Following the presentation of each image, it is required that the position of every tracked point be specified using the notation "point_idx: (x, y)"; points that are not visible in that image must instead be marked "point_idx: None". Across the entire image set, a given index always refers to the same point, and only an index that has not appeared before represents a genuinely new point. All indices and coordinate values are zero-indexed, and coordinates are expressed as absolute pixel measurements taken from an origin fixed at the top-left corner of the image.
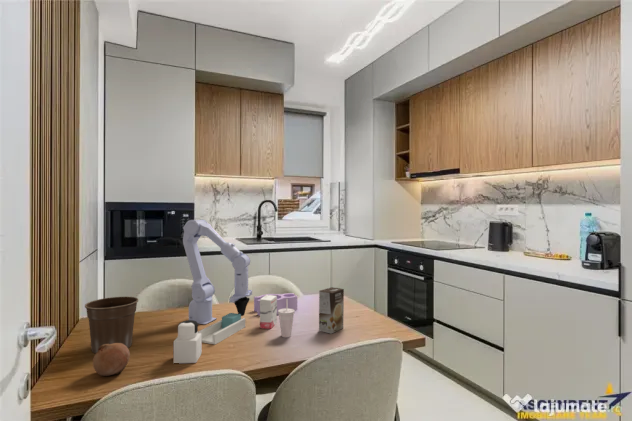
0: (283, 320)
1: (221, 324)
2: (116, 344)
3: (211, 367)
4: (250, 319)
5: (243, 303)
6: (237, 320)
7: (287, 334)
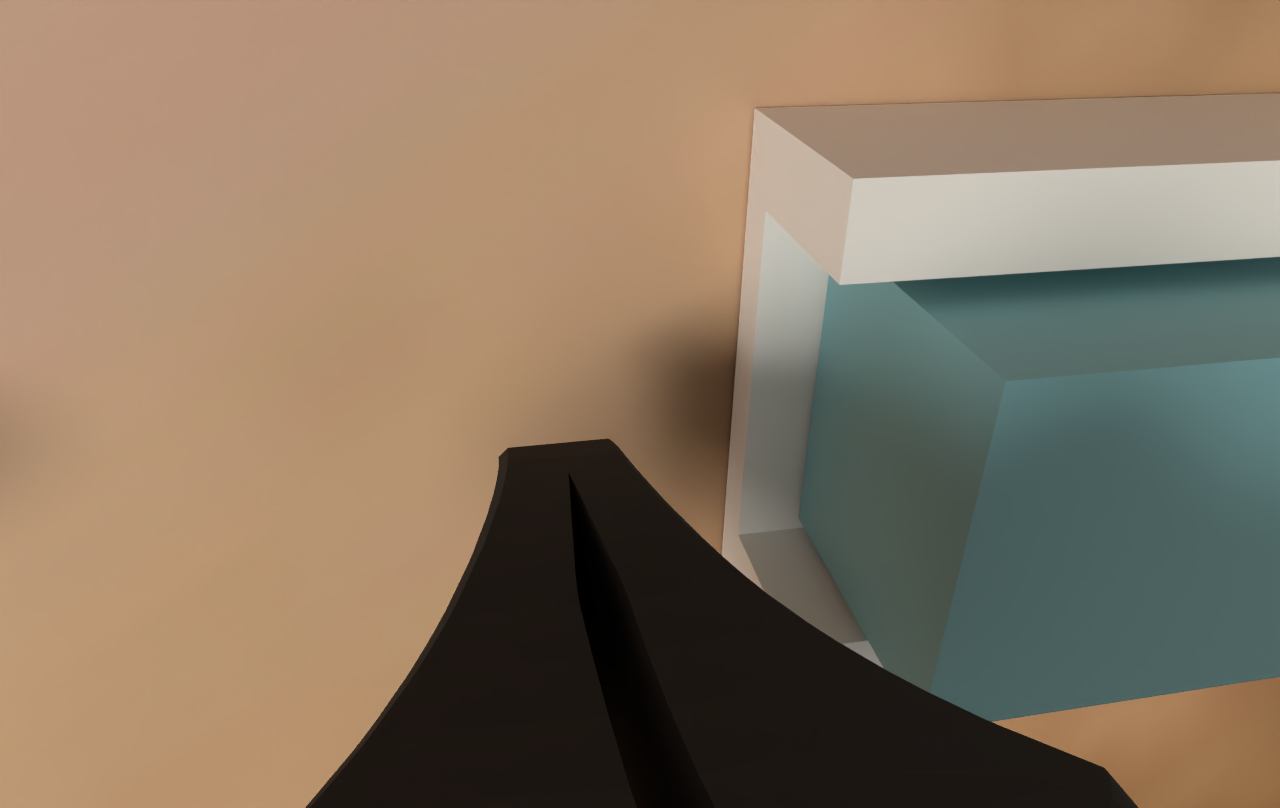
0: None
1: None
2: None
3: None
4: (97, 361)
5: (1019, 737)
6: (1118, 291)
7: None
